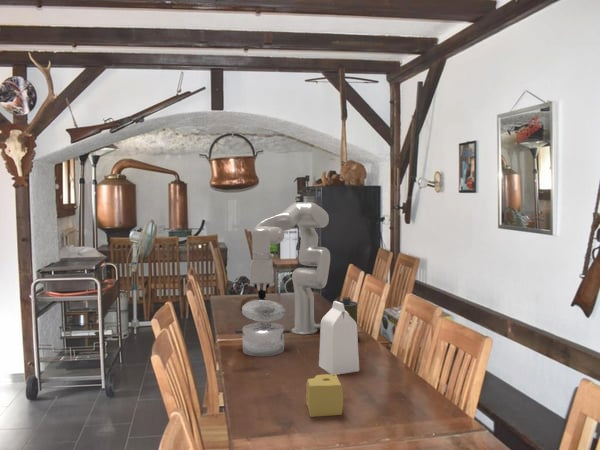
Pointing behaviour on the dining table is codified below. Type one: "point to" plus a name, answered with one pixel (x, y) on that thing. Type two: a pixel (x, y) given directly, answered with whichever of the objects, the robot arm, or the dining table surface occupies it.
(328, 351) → the milk
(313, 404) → the cheese
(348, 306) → the canister
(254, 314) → the lid
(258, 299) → the bread
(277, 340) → the pot
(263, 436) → the dining table surface
